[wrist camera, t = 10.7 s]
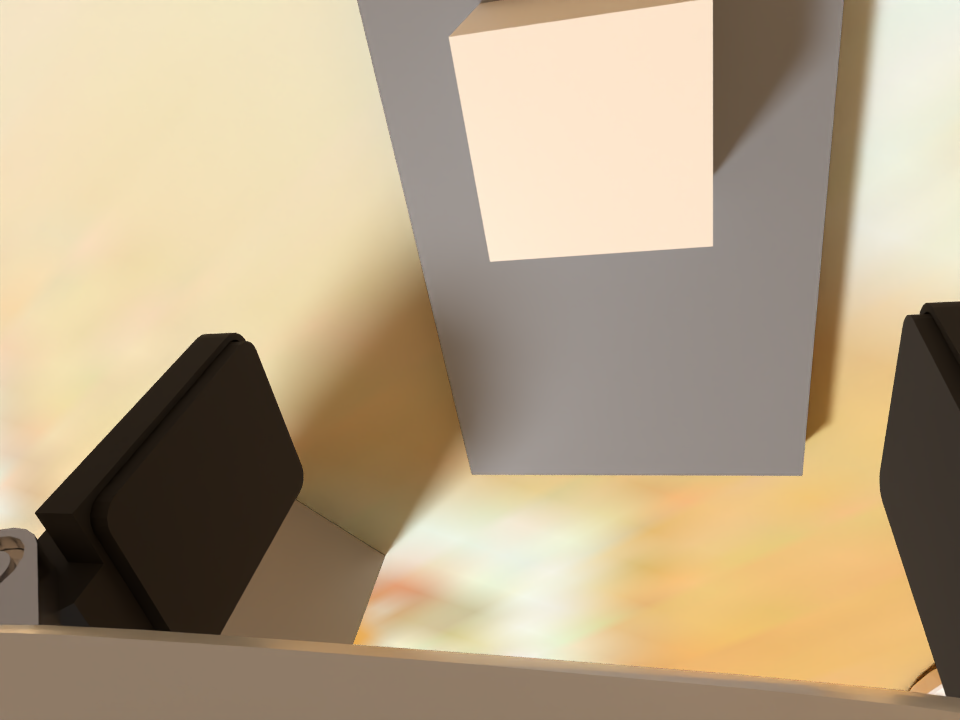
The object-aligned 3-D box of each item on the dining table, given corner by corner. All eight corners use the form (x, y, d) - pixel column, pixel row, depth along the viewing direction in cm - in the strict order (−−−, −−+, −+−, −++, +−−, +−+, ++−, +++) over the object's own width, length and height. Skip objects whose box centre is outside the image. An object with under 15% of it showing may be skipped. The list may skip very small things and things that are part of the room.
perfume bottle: (273, 485, 37) (31, 909, 23) (385, 555, 39) (225, 994, 24) (218, 546, 41) (-18, 943, 26) (322, 608, 42) (152, 1014, 28)
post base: (844, -154, 19) (886, -148, 15) (796, 449, 30) (814, 531, 26) (360, -63, 22) (306, -40, 19) (478, 450, 33) (458, 524, 30)
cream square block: (703, -32, 20) (713, -2, 16) (704, 186, 23) (713, 246, 20) (479, 3, 21) (448, 36, 18) (511, 203, 24) (489, 261, 21)
